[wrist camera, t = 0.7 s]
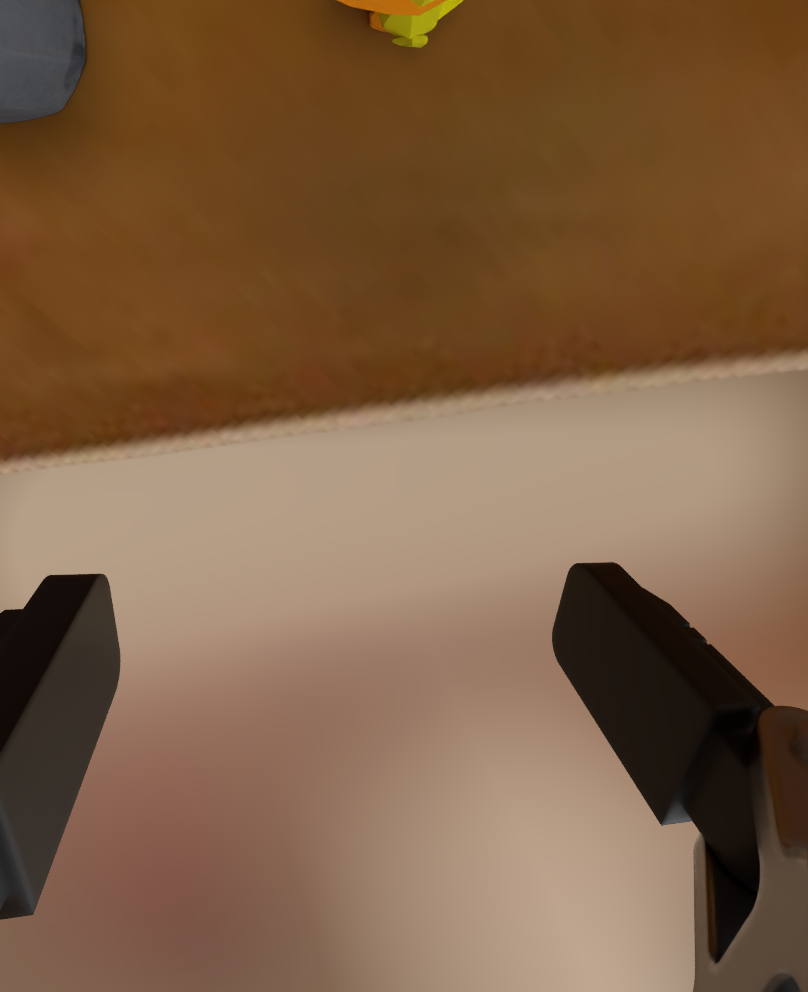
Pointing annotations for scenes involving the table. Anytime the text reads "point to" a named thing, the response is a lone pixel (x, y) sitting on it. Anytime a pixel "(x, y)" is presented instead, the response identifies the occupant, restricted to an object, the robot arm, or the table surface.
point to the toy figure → (405, 17)
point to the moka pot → (39, 56)
